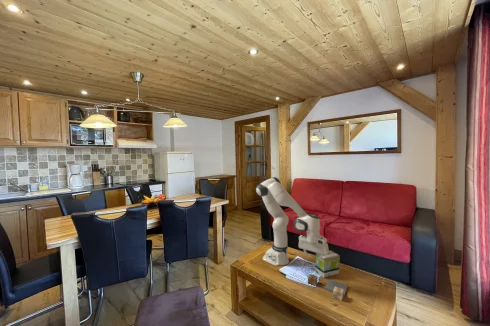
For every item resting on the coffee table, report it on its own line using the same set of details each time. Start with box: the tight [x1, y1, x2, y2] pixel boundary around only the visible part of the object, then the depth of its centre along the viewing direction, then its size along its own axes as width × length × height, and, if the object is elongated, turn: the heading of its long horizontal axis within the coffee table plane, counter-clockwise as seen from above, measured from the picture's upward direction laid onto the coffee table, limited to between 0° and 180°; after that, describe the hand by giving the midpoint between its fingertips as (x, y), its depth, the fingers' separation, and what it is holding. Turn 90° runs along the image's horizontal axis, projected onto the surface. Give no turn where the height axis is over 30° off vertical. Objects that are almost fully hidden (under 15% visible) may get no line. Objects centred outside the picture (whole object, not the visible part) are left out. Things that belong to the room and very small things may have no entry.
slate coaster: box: [324, 279, 348, 297], centre depth 145 cm, size 12×12×1 cm
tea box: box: [314, 249, 341, 278], centre depth 163 cm, size 15×10×15 cm
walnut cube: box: [307, 273, 318, 287], centre depth 150 cm, size 5×5×5 cm
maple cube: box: [332, 287, 344, 302], centre depth 136 cm, size 5×5×5 cm
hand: (313, 257), depth 149 cm, fingers open, 8 cm apart
